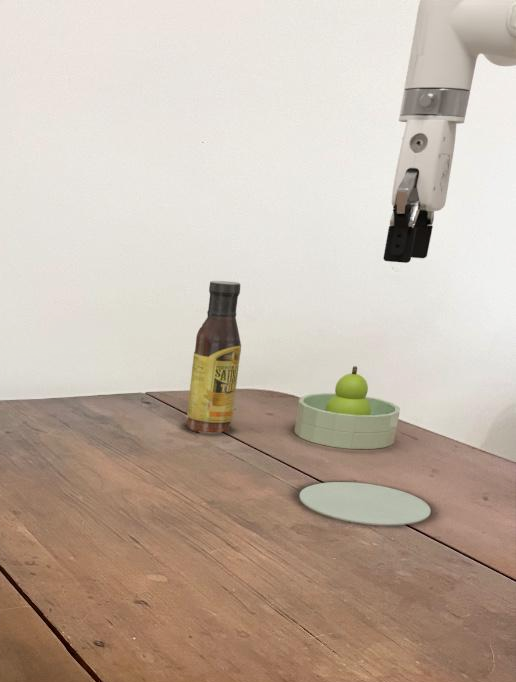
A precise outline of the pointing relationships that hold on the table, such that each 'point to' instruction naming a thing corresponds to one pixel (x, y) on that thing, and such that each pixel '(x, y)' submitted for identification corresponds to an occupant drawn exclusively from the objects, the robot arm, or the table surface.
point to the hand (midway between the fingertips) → (405, 259)
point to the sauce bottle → (215, 362)
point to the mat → (364, 503)
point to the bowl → (346, 424)
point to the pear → (350, 396)
